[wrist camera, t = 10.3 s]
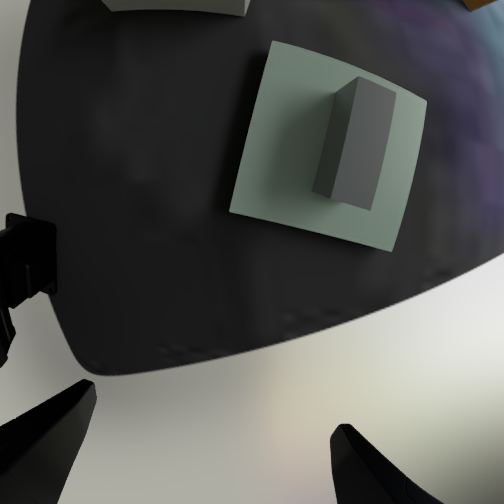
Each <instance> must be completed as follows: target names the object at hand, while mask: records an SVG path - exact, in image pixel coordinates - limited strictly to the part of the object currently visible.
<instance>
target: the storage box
mask: <svg viewBox="0 0 504 504" xmlns="http://www.w3.org/2000/svg"><path fill="white" fill-rule="evenodd" d="M101 1H102V2H103V3H104V4H105V5H106V6H107V7H108V8H109V9H110V10H111V11H124V10H144V9H171V10H192V11H205V12H214V13H223V14H230V15H237V16H243V17H245V14H246V11H247V8H248V5H249V3H250V0H101Z"/></svg>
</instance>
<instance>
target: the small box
mask: <svg viewBox="0 0 504 504" xmlns="http://www.w3.org/2000/svg"><path fill="white" fill-rule="evenodd" d="M462 1H463V2H464V3H465V5H466V6H467V8H468V9H469V10H470V11H474V10H477V9H479V8H481V7H483V6H486V5H488V4H490V3H493V2H495V1H497V0H462Z"/></svg>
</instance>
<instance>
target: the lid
mask: <svg viewBox="0 0 504 504" xmlns="http://www.w3.org/2000/svg"><path fill="white" fill-rule="evenodd" d="M426 105H427V101H425V100H424V99H422V98H420V97H418V96H416V95H415V94H413V93H411V92H409V91H407V90H405V89H403V88H401V87H399V86H397V85H395V84H393V83H391V82H389V81H387V80H385V79H383V78H381V77H378V76H376V75H374V74H372V73H369V72H367V71H365V70H362V69H360V68H357V67H355V66H352V65H350V64H347V63H345V62H342V61H339V60H336V59H334V58H331V57H328V56H325V55H322V54H319V53H316V52H313V51H309V50H306V49H303V48H299V47H296V46H292V45H288V44H285V43H281V42H277V41H272V44H271V48H270V51H269V55H268V58H267V62H266V66H265V69H264V73H263V77H262V80H261V84H260V88H259V92H258V95H257V99H256V103H255V107H254V111H253V115H252V118H251V122H250V126H249V130H248V134H247V138H246V142H245V146H244V150H243V155H242V159H241V163H240V167H239V171H238V175H237V180H236V184H235V188H234V193H233V197H232V201H231V206H230V210H229V212H232V213H237V214H241V215H246V216H250V217H254V218H259V219H263V220H268V221H272V222H276V223H280V224H285V225H289V226H293V227H297V228H301V229H305V230H309V231H313V232H317V233H321V234H325V235H329V236H333V237H337V238H341V239H345V240H349V241H353V242H356V243H360V244H364V245H368V246H372V247H375V248H379V249H383V250H386V251H390V252H392V249H393V246H394V243H395V240H396V237H397V234H398V231H399V228H400V224H401V221H402V217H403V214H404V210H405V207H406V203H407V199H408V196H409V192H410V188H411V184H412V180H413V175H414V171H415V167H416V162H417V157H418V152H419V147H420V142H421V137H422V131H423V125H424V119H425V112H426Z"/></svg>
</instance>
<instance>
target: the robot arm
mask: <svg viewBox="0 0 504 504" xmlns="http://www.w3.org/2000/svg"><path fill="white" fill-rule="evenodd" d="M50 228H51V229H52V232H51V230H50ZM51 288H52V290H53V291H52V290H51ZM39 291H41V292H43V293H46V294H49V295H51V296H53V295H55V294H56V293H57V263H56V226H55V224H53V223H50V222H46V221H42V220H38V219H34V218H30V217H26V216H22V215H18V214H14V213H9V214H7V215H6V229H4V230H1V231H0V368H1V367H2V366H3V365H4V364H5V362H6V361H7V359H8V356H7V353H8V350H9V348H10V345H11V343H12V341H13V339H14V337H15V334H16V331H15V328H14V326H13V324H12V321H11V317H10V313H9V309H8V308H9V307H10V308H12V309H14V308H15V307H17V306H18V305H19V304H21V303H22V302H23V301H24V300H26V299H27V298H32V297H33V296H34V295H36V294H37V293H38V292H39ZM96 400H97V396H96V390H95V384H94V383H93V382H92V381H89V380H86V379H83V380H81V381H79V382H77V383H75V384H74V385H72V386H70V387H69V388H67V389H65V390H64V391H62V392H60V393H58V394H57V395H55V396H53V397H52V398H50V399H48V400H46V401H45V402H43V403H41V404H39V405H38V406H36V407H34V408H32V409H31V410H29V411H27V412H25V413H24V414H22V415H20V416H18V417H17V418H16V419H13V420H11V421H9V422H7V423H6V424H3V425H2V426H0V504H57V503H58V500H59V498H60V495H61V492H62V490H63V487H64V485H65V482H66V480H67V477H68V475H69V472H70V470H71V467H72V465H73V463H74V461H75V458H76V456H77V454H78V451H79V449H80V447H81V445H82V442H83V440H84V438H85V435H86V432H87V429H88V426H89V423H90V420H91V416H92V413H93V410H94V407H95V404H96ZM330 450H331V466H332V475H333V482H334V487H335V492H336V498H337V504H444V503H442V502H441V501H439V500H438V499H436V498H435V497H433V496H432V495H430V494H428V493H427V492H426V491H424V490H423V489H422V488H420V487H419V486H418V485H417V484H415V483H414V482H413V481H411V479H409V478H408V477H406V475H405V474H404V473H402V472H401V471H400V470H399V469H398V468H397V467H396V466H395V465H393V464H392V463H391V462H390V461H389V460H388V459H387V458H386V457H385V456H384V455H382V454H381V453H380V452H379V451H378V450H377V449H376V448H375V447H374V446H373V445H372V444H371V443H370V442H368V440H366V439H365V438H364V437H363V436H362V435H361V434H360V433H359V432H358V431H357V430H356V429H355V428H354V427H353V426H352V425H350V424H340V425H338V427H337V428H336V430H335V431H334V432H333V434H332V435H331V438H330Z"/></svg>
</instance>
